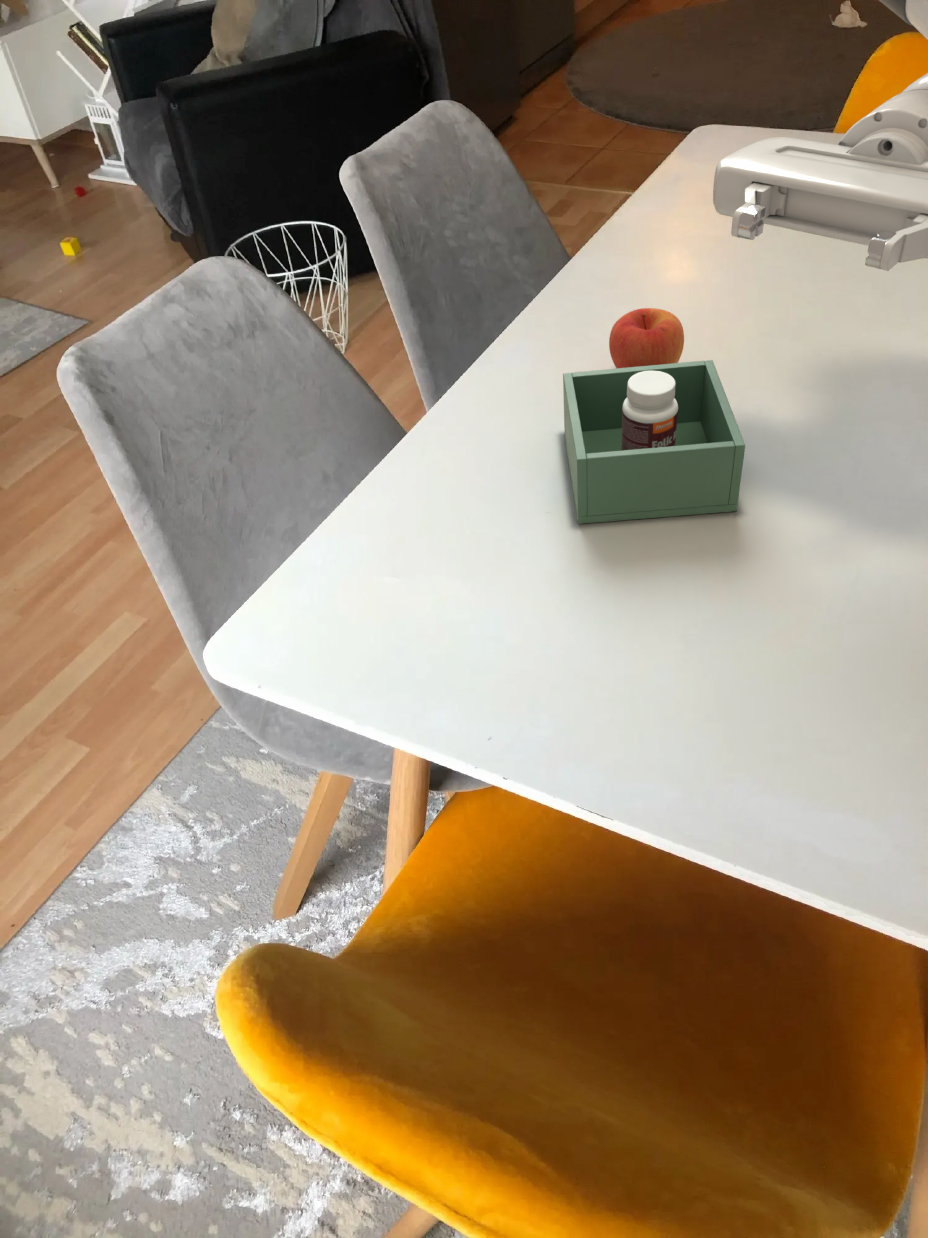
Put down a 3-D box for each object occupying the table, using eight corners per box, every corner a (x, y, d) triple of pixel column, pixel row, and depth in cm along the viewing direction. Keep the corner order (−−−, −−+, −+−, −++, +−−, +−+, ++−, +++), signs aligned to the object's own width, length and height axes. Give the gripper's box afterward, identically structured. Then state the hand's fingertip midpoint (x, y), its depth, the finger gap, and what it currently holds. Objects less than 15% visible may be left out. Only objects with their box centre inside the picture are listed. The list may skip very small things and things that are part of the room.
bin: (706, 423, 92) (712, 359, 87) (736, 511, 82) (745, 445, 77) (564, 435, 93) (562, 373, 88) (578, 524, 83) (577, 459, 78)
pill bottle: (657, 485, 84) (662, 403, 79) (611, 469, 87) (612, 387, 81) (684, 458, 87) (690, 376, 81) (638, 442, 89) (641, 362, 83)
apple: (685, 362, 100) (690, 289, 94) (676, 400, 95) (681, 326, 89) (615, 358, 102) (616, 287, 96) (603, 396, 97) (603, 323, 91)
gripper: (771, 102, 72) (671, 164, 65) (1063, 143, 62) (980, 222, 55) (761, 188, 77) (666, 255, 70) (1032, 240, 66) (951, 325, 59)
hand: (806, 241), depth 62 cm, fingers open, 8 cm apart
